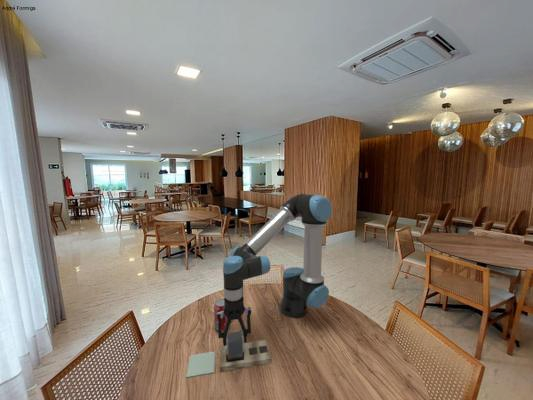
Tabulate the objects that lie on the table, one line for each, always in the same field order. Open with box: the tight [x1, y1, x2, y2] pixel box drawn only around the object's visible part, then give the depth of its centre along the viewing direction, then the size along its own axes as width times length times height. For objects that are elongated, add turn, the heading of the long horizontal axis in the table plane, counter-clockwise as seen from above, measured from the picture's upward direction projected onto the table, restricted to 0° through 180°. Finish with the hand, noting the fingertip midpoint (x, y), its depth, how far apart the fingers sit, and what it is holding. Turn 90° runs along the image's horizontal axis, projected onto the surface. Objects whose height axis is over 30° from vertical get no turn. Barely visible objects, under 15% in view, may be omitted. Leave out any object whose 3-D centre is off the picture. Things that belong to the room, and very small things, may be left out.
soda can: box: [213, 298, 227, 332], centre depth 106 cm, size 7×7×13 cm
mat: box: [185, 351, 216, 379], centre depth 85 cm, size 10×10×1 cm
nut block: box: [227, 330, 244, 362], centre depth 87 cm, size 6×6×9 cm
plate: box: [219, 339, 272, 373], centre depth 88 cm, size 20×10×2 cm, turn 102°
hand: (235, 350), depth 88 cm, fingers closed on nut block, 5 cm apart
